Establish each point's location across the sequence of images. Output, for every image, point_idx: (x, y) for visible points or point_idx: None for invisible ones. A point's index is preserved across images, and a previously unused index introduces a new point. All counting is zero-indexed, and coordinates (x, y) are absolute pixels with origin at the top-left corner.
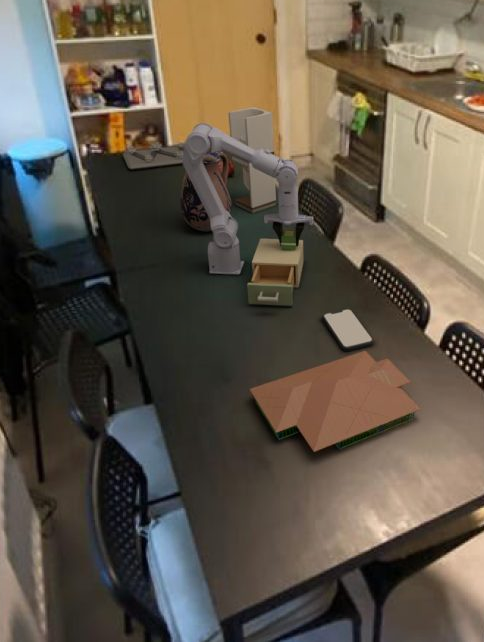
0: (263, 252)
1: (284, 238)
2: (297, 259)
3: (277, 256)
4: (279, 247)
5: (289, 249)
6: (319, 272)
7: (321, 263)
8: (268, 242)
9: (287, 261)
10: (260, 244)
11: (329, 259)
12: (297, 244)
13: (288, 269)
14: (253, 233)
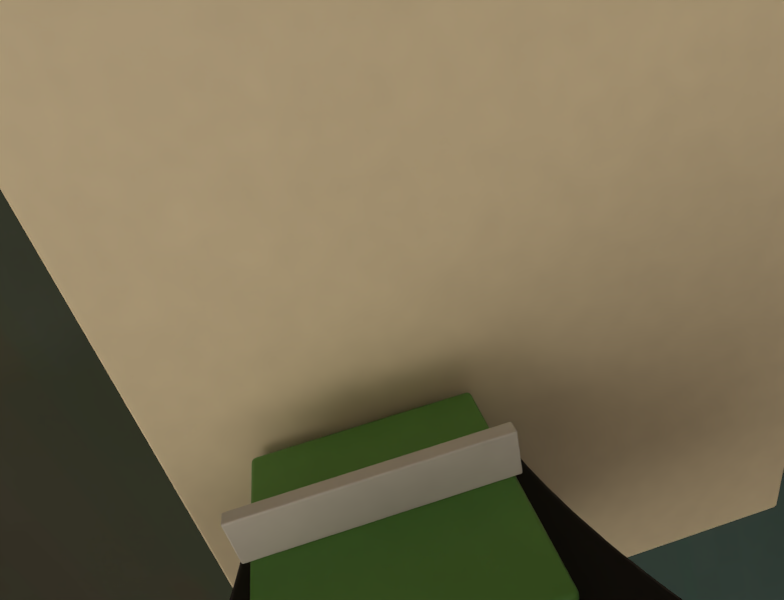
0: (724, 213)
1: (494, 583)
2: (33, 185)
3: (474, 165)
4: (518, 430)
5: (348, 429)
6: (40, 371)
7: (116, 499)
8: (680, 474)
9: (198, 22)
10: (773, 398)
11: (87, 569)
12: (246, 567)
13: None
14: (712, 591)
